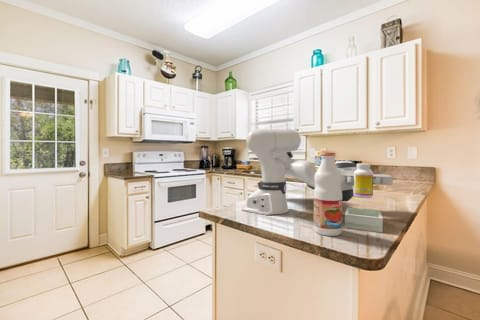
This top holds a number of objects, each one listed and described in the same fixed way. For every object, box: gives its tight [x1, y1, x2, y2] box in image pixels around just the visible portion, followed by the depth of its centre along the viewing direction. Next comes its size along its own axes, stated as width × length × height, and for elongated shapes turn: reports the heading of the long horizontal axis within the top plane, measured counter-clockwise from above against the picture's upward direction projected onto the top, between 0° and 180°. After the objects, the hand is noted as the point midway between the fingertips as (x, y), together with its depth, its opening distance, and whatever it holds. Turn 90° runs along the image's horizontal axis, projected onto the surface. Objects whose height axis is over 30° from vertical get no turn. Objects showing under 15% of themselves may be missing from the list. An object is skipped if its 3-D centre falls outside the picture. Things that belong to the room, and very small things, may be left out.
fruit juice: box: [313, 152, 343, 237], centre depth 82 cm, size 9×9×28 cm
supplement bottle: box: [353, 163, 374, 199], centre depth 90 cm, size 7×7×13 cm
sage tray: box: [344, 206, 384, 233], centre depth 89 cm, size 12×12×5 cm
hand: (363, 181), depth 90 cm, fingers closed on supplement bottle, 7 cm apart
